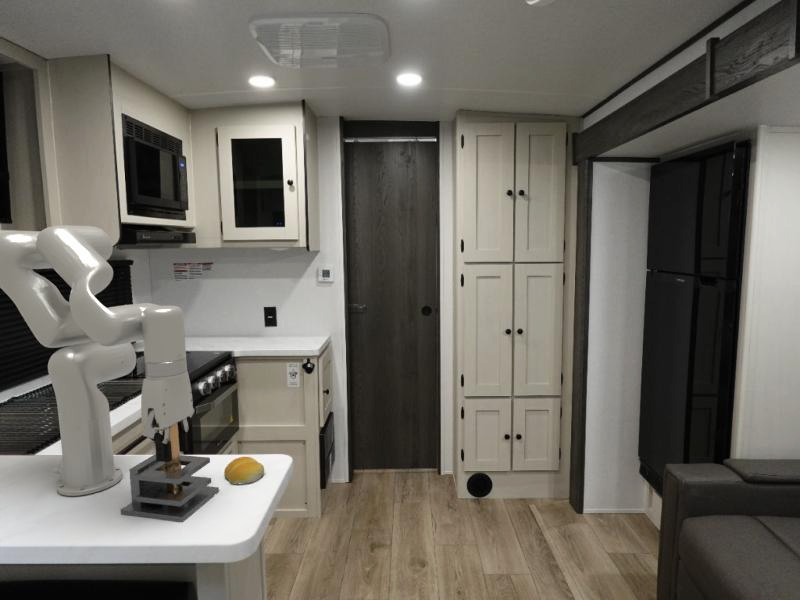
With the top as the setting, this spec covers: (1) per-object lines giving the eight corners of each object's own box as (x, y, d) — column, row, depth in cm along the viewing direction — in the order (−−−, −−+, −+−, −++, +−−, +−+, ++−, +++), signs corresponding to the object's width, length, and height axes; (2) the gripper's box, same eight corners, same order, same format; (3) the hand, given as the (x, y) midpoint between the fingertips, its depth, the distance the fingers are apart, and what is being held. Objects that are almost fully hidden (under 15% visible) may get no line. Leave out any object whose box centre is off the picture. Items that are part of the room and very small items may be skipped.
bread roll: (236, 489, 109) (235, 472, 108) (220, 476, 115) (219, 459, 115) (271, 477, 114) (270, 460, 114) (254, 465, 121) (253, 449, 120)
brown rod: (164, 501, 102) (155, 406, 99) (174, 494, 105) (166, 401, 102) (177, 503, 101) (169, 407, 99) (187, 495, 104) (179, 402, 102)
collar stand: (120, 514, 99) (117, 473, 98) (162, 485, 110) (159, 448, 110) (182, 522, 96) (179, 479, 95) (218, 491, 107) (216, 453, 106)
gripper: (177, 357, 109) (183, 439, 111) (117, 378, 92) (125, 472, 94) (208, 359, 107) (213, 441, 109) (152, 380, 91) (159, 476, 93)
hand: (172, 455), depth 102 cm, fingers open, 4 cm apart
